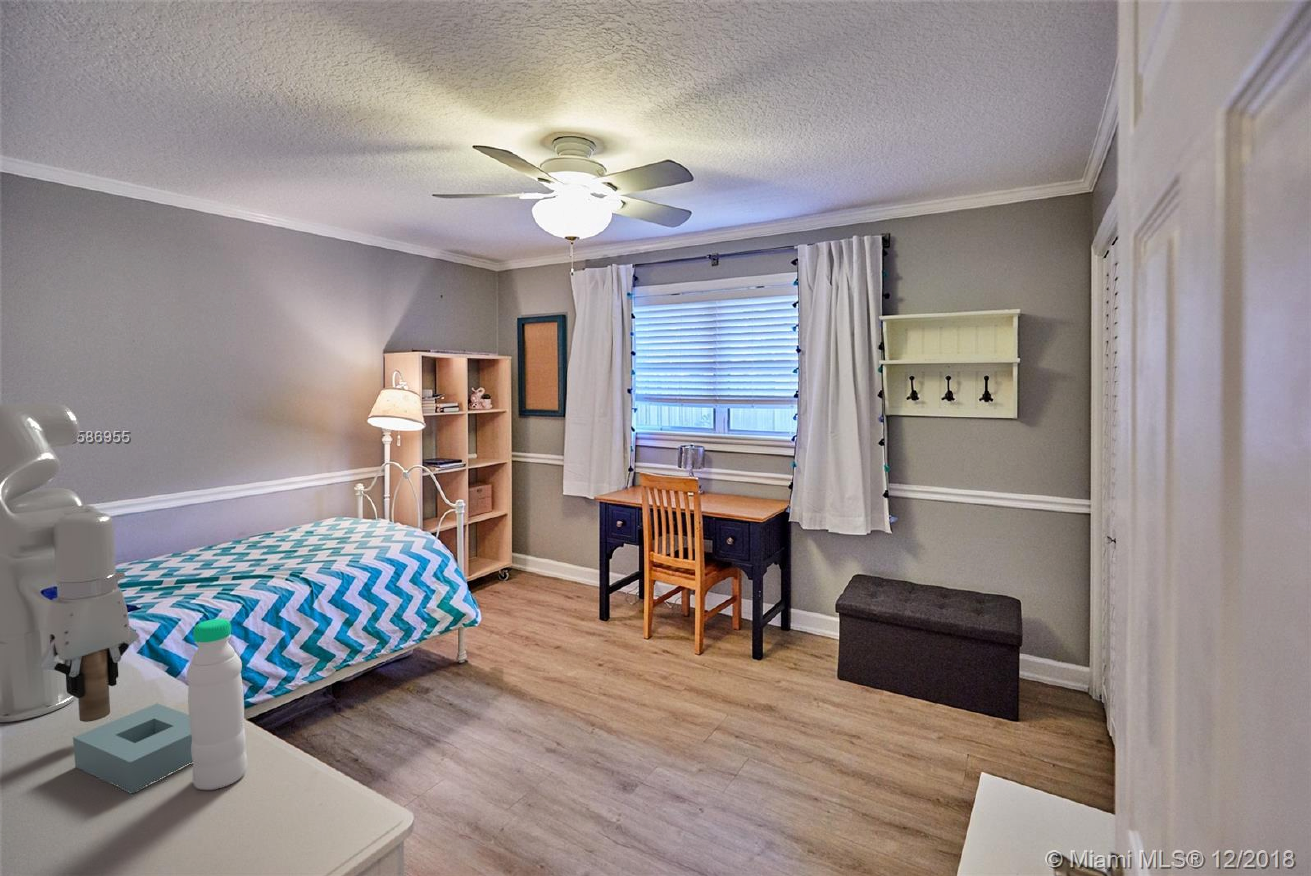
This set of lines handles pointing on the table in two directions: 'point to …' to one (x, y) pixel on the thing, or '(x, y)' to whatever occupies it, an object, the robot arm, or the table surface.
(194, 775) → the water bottle
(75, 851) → the table surface
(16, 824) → the table surface
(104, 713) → the peg
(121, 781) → the socket block
